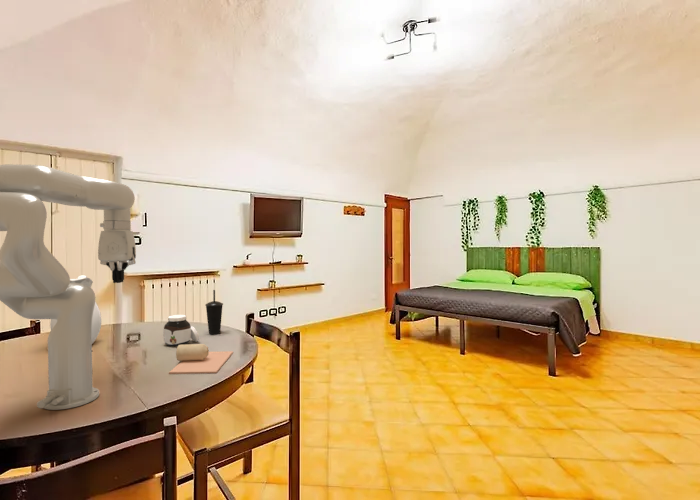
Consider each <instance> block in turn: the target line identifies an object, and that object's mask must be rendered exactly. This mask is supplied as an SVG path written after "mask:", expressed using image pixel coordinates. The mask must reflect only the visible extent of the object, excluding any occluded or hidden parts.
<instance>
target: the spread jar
mask: <svg viewBox="0 0 700 500" xmlns="http://www.w3.org/2000/svg"><path fill="white" fill-rule="evenodd" d="M191 340H192V341H193V342H195V343H197V342H198V341H200V335H199V332H198V331H197V329H196V328H195V327H194V326H193V325H191V324H190V322H189V321H188V320H187V315H185V314H174V315H169V316H168V317H167V322H166V323H165V324H164V326H163V341H164V344H165V345H167V346H168V347H170V348H177V347H178V345H186V344H188V343H189V342H191Z"/></svg>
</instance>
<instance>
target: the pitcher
mask: <svg viewBox="0 0 700 500" xmlns="http://www.w3.org/2000/svg"><path fill="white" fill-rule="evenodd" d="M93 281H94V280H92V279H91V278H89V277H88V276H87V275H85V274H84V275H83V274H82V275H78V276H77V278H70V283H79V284H84V285H87V286H89V287H90V288H91V289H92V285H93V283H94V282H93ZM49 323H50V325H49V327H50V331H51V330H52V328H53V327H54V326H55V324H56V323H57V320H56V319H50V322H49ZM101 327H102V314H101V311H100V308H99V306H98V303H97V302H96V300H95V306H94V311H93V316H92V344H94V342H95V341H96V340H97V338H98V336H99V334H100V331H101Z"/></svg>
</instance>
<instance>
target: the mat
mask: <svg viewBox="0 0 700 500" xmlns="http://www.w3.org/2000/svg"><path fill="white" fill-rule="evenodd" d="M233 354H234V351H233V350H232V351H230V350H229V351H225V350H223V351H209V354H208V356H207V357H206V358H205V359H204V360H189V361H180V362H179V363H178V364H177V365H176V366H174V367H173V368H172V369H171V370H170V371H168V375H186V374H187V375H190V374H191V375H192V374H194V375H195V374H199V375H200V374H201V375H202V374H205V375H206V374H217V373H218V372H219V371H220V370H221V368H222V367H223V366H224V365H225V364H226V362H227V361H228V360H229V359H230V358H231V357H232V355H233Z"/></svg>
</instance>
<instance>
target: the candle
mask: <svg viewBox="0 0 700 500" xmlns="http://www.w3.org/2000/svg"><path fill="white" fill-rule="evenodd" d="M209 352H210V351H209V347H208V346H207V345H206V344H205V343H197V344H196V343H193V344H192V343H191V344H188V343H187V344H186V345H178V347H176V352H175V358H176V361H178V362H179V361H180V362H182V361H189V360H204V359H205V358H206V357H207V356H208V354H209Z"/></svg>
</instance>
